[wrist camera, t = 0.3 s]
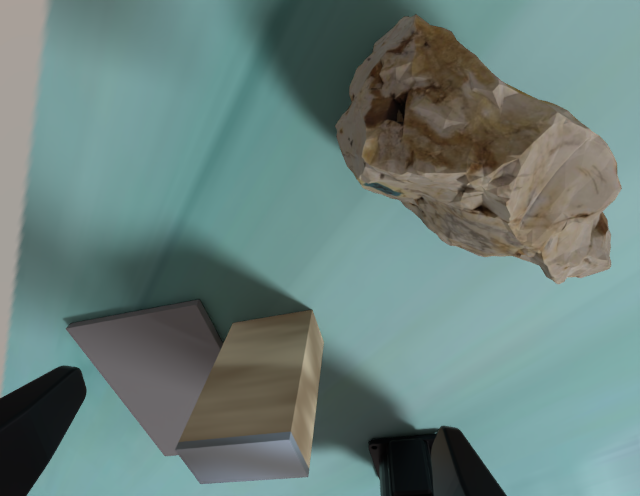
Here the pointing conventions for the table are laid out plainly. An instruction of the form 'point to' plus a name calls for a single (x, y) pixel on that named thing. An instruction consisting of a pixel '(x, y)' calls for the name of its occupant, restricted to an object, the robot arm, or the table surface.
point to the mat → (154, 363)
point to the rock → (478, 154)
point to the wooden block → (257, 403)
